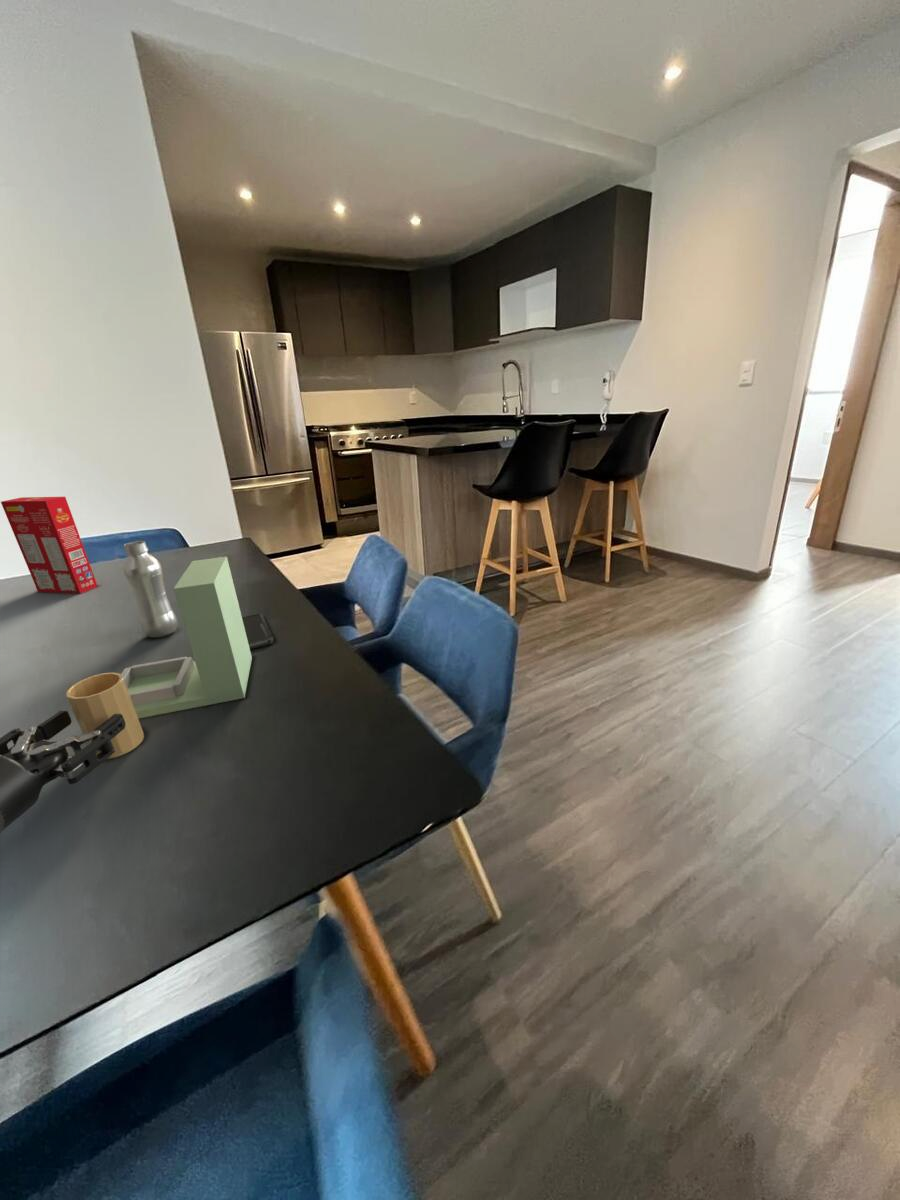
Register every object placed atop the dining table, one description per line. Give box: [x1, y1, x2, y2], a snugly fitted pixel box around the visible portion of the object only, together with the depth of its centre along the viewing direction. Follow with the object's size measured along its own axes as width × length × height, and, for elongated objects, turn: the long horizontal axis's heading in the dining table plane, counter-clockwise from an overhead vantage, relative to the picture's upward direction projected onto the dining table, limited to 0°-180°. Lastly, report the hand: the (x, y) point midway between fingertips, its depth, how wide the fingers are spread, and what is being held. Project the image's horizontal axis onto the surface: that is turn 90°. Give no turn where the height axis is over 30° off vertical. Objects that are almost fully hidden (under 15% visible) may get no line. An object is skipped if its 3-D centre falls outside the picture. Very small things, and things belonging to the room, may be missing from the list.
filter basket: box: [65, 671, 145, 760], centre depth 68 cm, size 6×6×10 cm
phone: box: [242, 613, 274, 651], centre depth 101 cm, size 8×1×15 cm
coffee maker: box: [120, 556, 253, 720], centre depth 79 cm, size 20×14×20 cm
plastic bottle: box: [123, 540, 178, 639], centre depth 100 cm, size 6×7×20 cm
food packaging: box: [0, 496, 98, 594], centre depth 131 cm, size 15×5×25 cm, turn 77°
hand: (94, 717), depth 66 cm, fingers open, 8 cm apart
